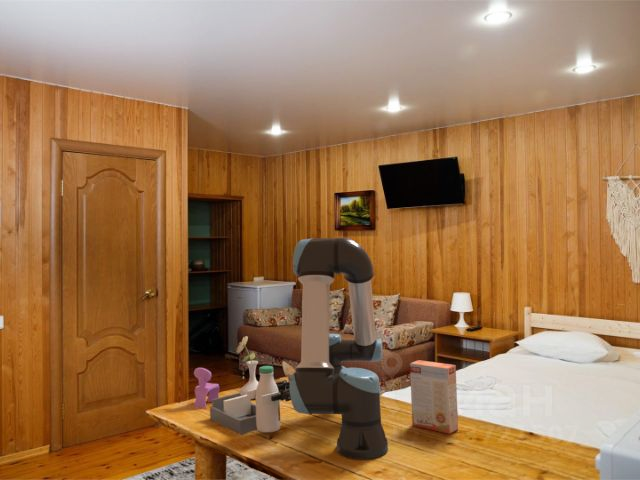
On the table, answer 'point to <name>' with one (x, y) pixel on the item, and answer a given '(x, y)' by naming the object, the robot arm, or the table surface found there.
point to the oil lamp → (288, 369)
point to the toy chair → (204, 388)
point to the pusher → (238, 406)
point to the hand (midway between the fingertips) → (254, 397)
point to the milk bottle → (269, 412)
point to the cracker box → (434, 396)
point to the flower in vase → (252, 381)
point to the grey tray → (230, 421)
